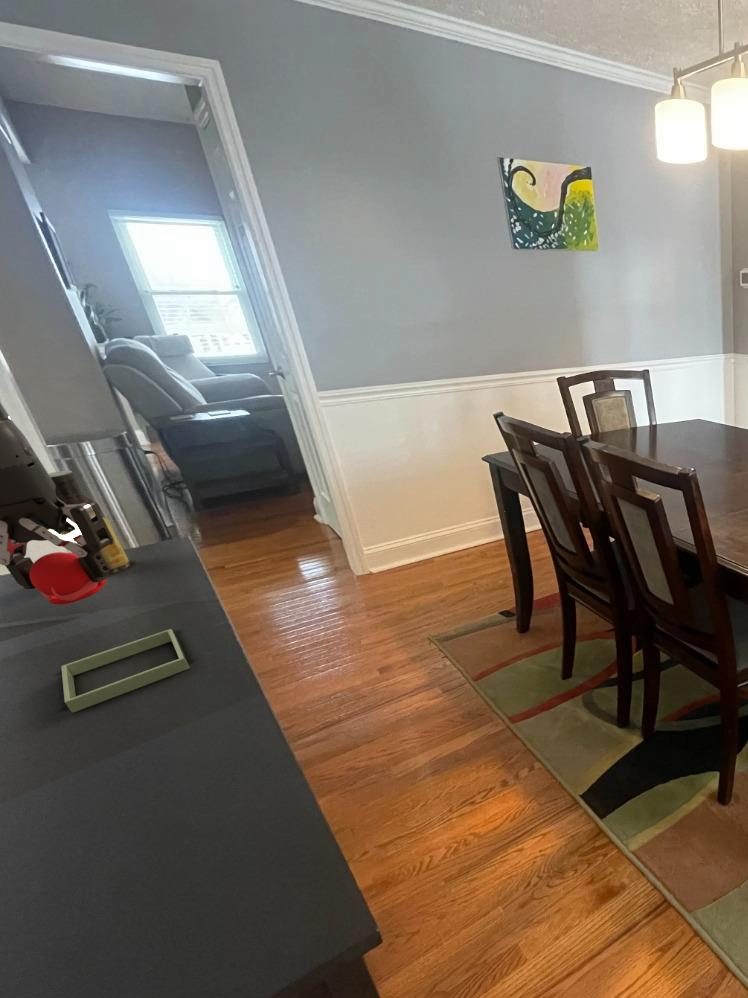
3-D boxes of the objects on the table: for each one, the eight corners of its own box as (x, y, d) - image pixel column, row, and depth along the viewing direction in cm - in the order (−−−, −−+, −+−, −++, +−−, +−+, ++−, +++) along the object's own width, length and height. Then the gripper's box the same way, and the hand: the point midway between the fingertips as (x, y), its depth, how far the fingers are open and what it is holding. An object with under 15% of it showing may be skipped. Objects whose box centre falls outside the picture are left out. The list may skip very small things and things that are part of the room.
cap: (116, 594, 79) (91, 554, 76) (53, 614, 75) (24, 573, 72) (102, 578, 83) (78, 539, 80) (42, 596, 79) (14, 556, 76)
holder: (72, 713, 77) (64, 702, 76) (68, 676, 85) (60, 666, 84) (190, 668, 85) (183, 658, 84) (177, 638, 92) (171, 628, 91)
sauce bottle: (89, 585, 110) (24, 483, 100) (87, 575, 113) (24, 476, 104) (137, 571, 114) (78, 472, 104) (133, 562, 118) (76, 466, 108)
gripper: (-118, 478, 66) (-22, 604, 74) (35, 465, 68) (112, 589, 76) (-53, 457, 72) (29, 576, 80) (84, 446, 75) (151, 563, 83)
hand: (69, 582), depth 78 cm, fingers closed on cap, 7 cm apart
